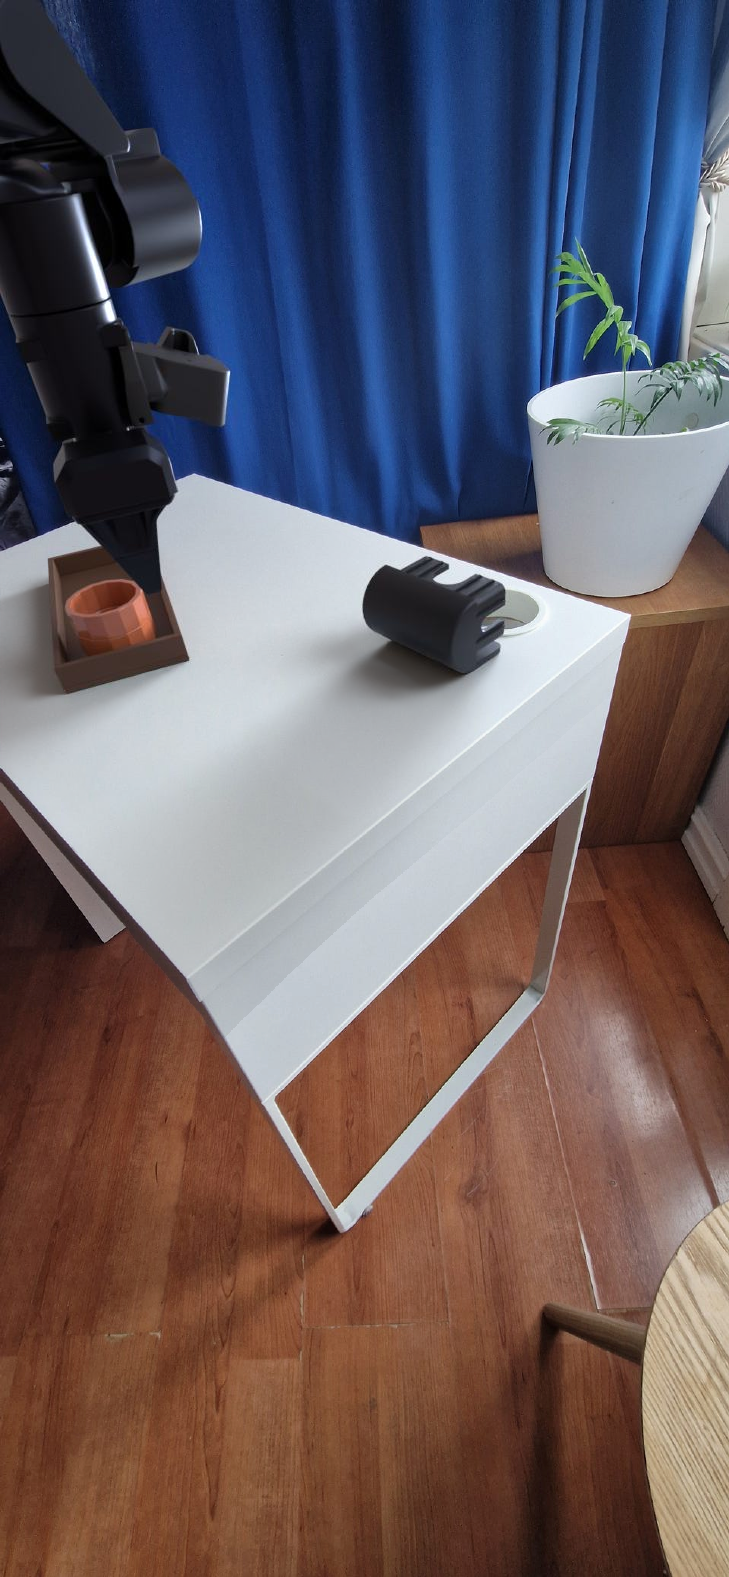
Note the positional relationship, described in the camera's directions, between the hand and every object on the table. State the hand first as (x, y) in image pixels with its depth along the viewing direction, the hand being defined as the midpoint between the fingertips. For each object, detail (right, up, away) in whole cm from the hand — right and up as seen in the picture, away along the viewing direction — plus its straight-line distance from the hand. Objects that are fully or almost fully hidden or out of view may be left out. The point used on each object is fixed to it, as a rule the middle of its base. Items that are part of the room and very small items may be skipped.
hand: (146, 565), depth 50 cm
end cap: (+22, -4, +10) cm, 24 cm away
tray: (-9, +1, +20) cm, 22 cm away
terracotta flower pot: (-7, -3, +15) cm, 16 cm away
